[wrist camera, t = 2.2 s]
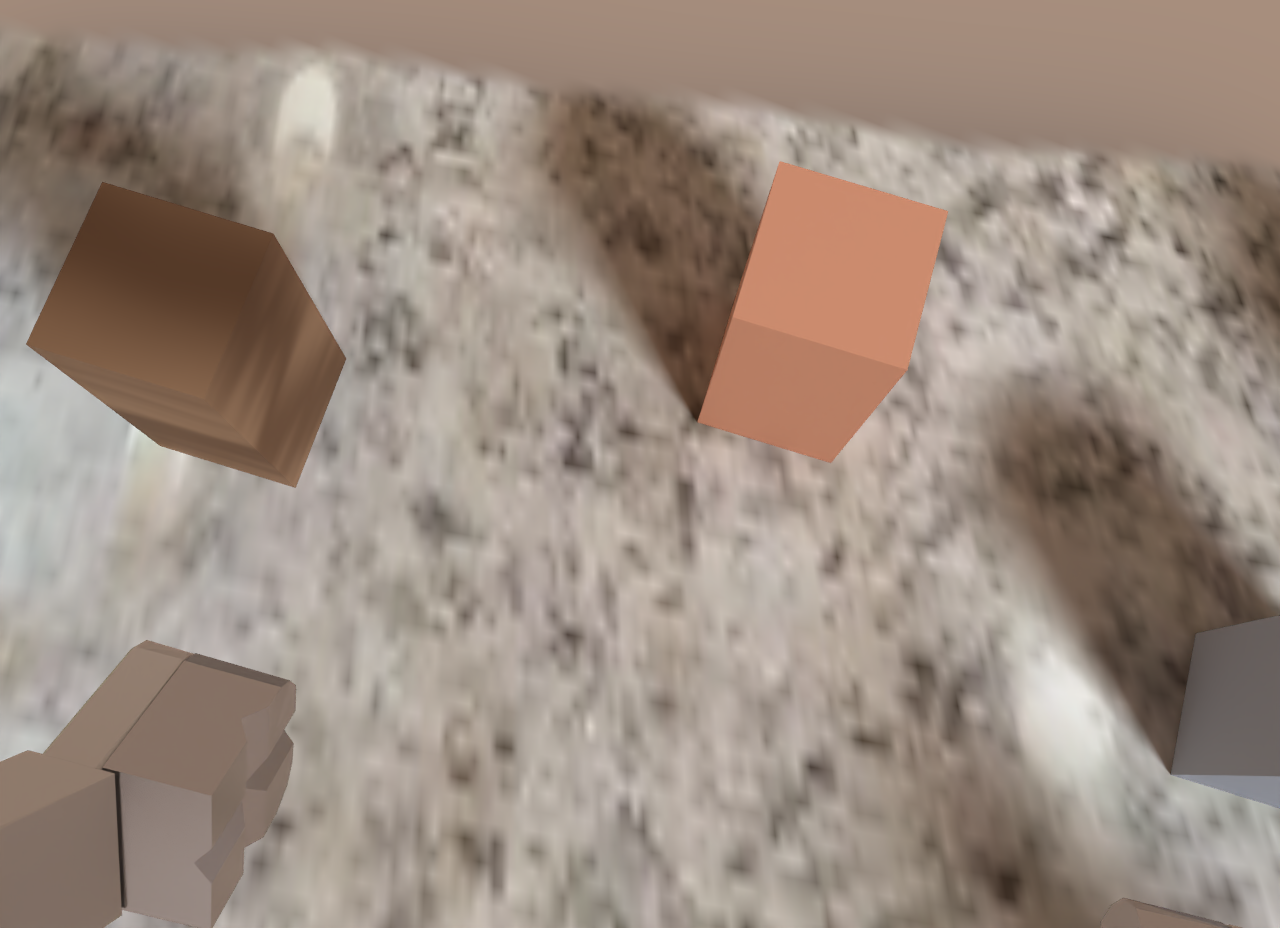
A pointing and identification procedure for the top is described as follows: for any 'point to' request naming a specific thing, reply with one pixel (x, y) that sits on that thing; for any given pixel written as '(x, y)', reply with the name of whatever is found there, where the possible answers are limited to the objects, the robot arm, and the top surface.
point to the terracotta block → (822, 312)
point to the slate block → (1233, 712)
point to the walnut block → (192, 333)
